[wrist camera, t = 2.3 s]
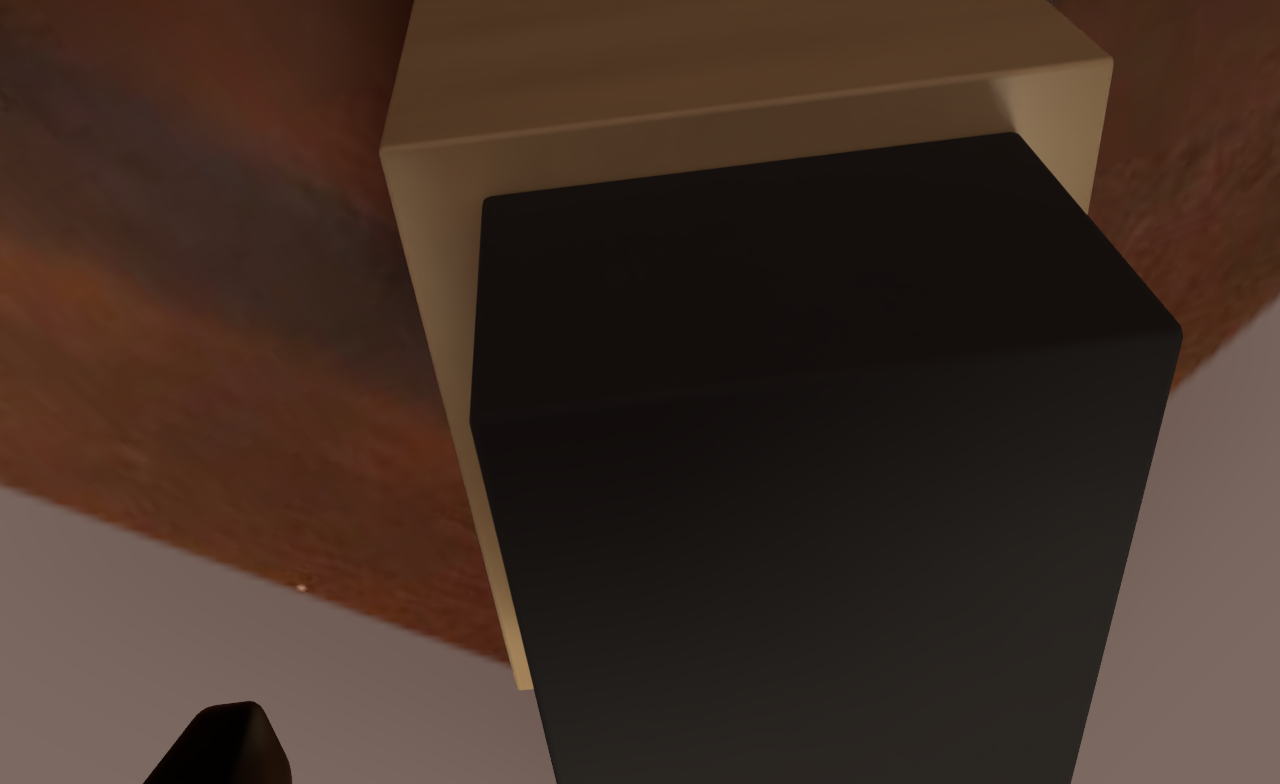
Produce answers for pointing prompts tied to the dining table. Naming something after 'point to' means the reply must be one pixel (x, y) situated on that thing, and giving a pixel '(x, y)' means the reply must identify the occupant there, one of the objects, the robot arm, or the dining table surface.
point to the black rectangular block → (815, 463)
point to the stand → (691, 123)
